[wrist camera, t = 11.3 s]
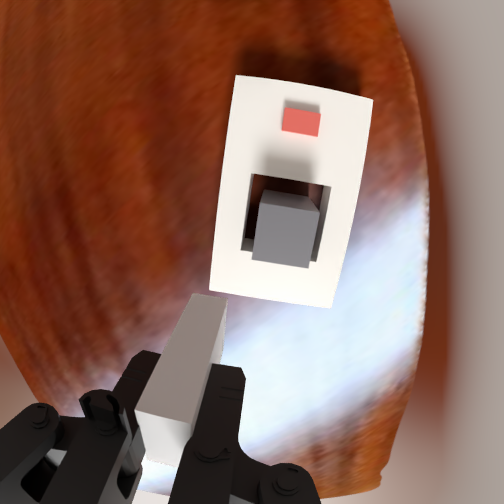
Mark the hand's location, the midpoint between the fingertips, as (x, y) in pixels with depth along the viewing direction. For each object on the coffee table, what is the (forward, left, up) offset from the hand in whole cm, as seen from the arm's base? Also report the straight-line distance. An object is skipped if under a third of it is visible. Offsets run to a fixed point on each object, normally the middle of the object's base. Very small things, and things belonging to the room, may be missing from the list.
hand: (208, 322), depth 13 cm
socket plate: (-4, +3, -19) cm, 20 cm away
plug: (-1, +3, -19) cm, 20 cm away
